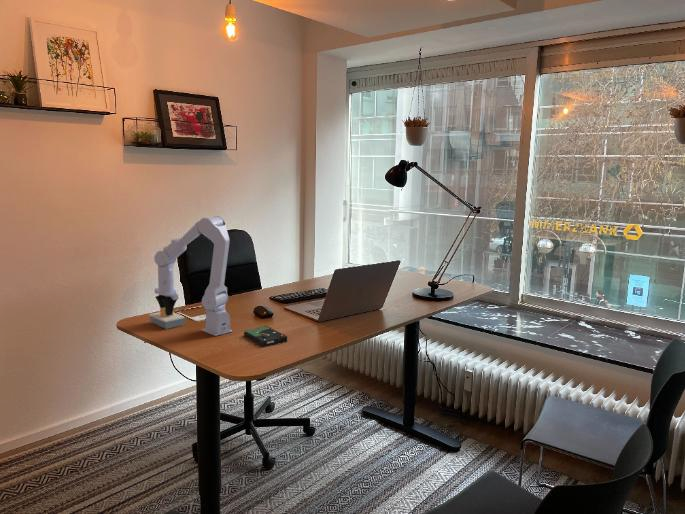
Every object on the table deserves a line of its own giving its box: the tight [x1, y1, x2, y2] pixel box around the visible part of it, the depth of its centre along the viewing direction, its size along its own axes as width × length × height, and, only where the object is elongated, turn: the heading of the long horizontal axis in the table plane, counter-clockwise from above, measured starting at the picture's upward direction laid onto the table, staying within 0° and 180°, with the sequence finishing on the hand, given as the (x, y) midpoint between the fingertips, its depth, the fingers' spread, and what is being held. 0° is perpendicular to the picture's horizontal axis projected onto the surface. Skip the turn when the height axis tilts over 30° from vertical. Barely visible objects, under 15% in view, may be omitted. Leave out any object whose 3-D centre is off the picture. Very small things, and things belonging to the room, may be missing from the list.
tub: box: [149, 316, 185, 330], centre depth 213 cm, size 12×8×3 cm, turn 48°
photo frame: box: [176, 305, 206, 322], centre depth 229 cm, size 15×1×18 cm
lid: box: [148, 307, 186, 322], centre depth 212 cm, size 12×8×4 cm
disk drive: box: [243, 325, 288, 348], centre depth 199 cm, size 10×3×15 cm
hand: (166, 314), depth 212 cm, fingers closed on lid, 3 cm apart
